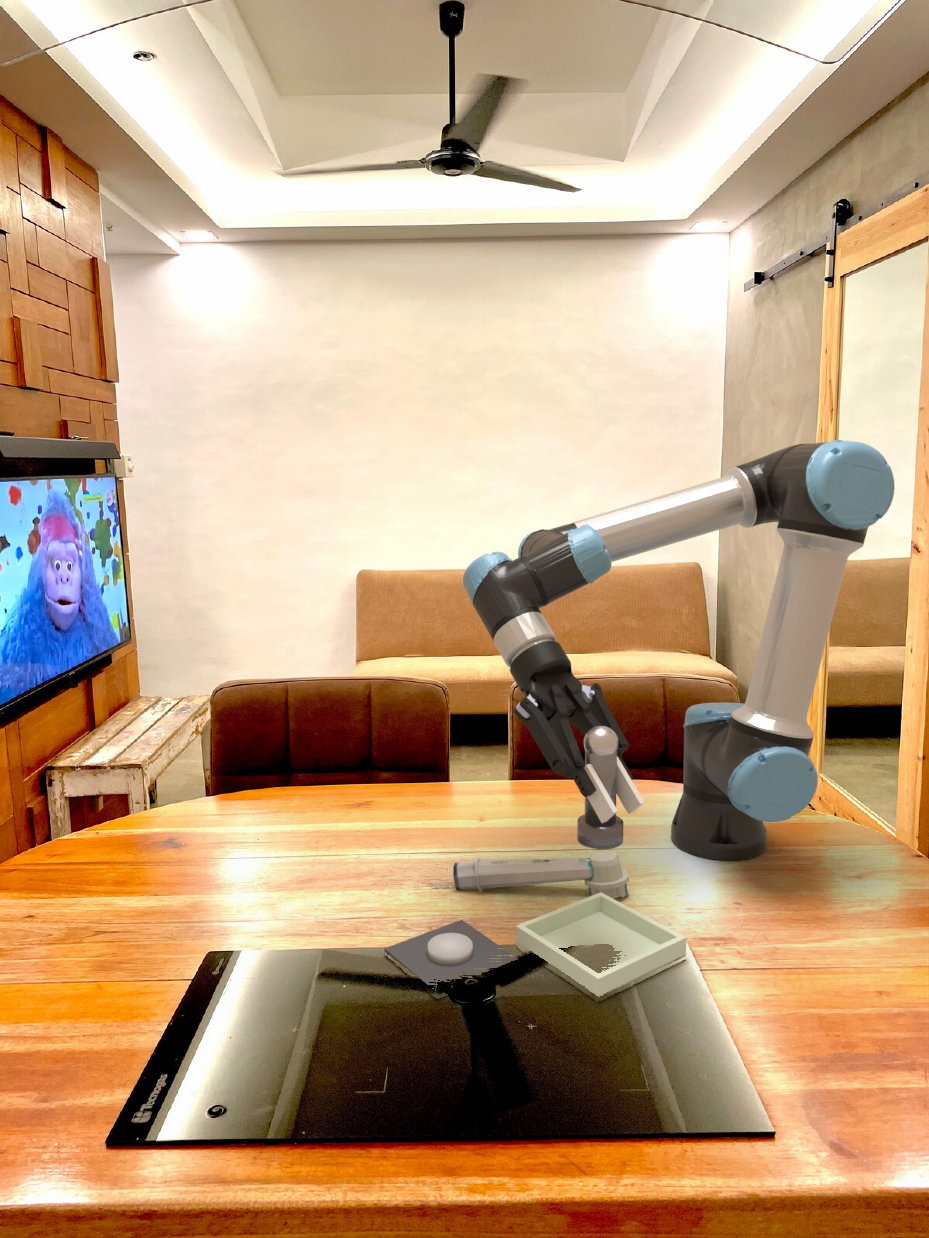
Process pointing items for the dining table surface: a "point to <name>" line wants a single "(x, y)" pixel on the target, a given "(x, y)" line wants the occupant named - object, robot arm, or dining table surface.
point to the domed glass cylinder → (604, 761)
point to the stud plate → (448, 953)
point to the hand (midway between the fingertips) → (623, 812)
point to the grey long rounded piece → (545, 873)
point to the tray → (602, 941)
